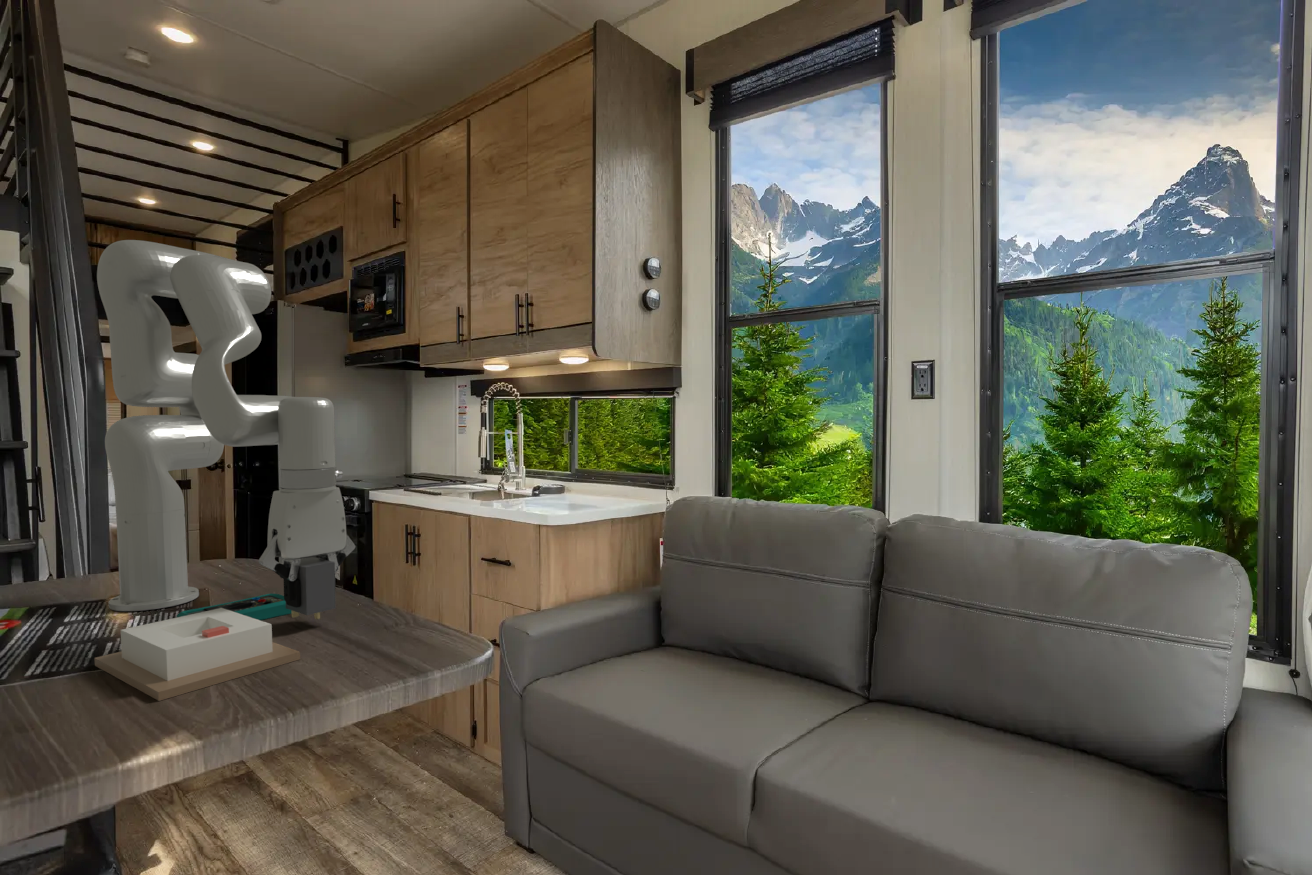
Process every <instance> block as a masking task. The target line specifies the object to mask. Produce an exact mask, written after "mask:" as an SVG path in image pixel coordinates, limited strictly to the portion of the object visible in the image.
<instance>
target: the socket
mask: <svg viewBox="0 0 1312 875" xmlns="http://www.w3.org/2000/svg"><path fill="white" fill-rule="evenodd" d="M272 628H273V626H272V623H269V622H266V621H264V620H261V621H260V620H257V619H254V618H251V617H248V616H245V615H242V614H239V613H236V612H233V611H230V610H227V609H224V608H219V609H214V610H210V611H205V612H200V613H196V614H191V615H187V616H182V617H177V616H176V617H174V618H169V619H165V620H159V621H155V622H150V623H146V624H141V625H137V626H132V627H128V628H123V629H120V647H121V648H120V649H121V651H118V652H114V653H109V654H105V655H100V656H97V657H94V666H95V667H96V668H98V669H100V670H102V671H104V672H105V673H107V674H110V676H113V677H115V678H116V679H119V680H120V681H122V682H124V683H126V684H127V685H129V686H131V687H132V688H134V689H137V690H138V691H140V692H142V693H143V694H145V695H148V697H151V698H153V699H155V700H156V701H158V702H160V701H163V700H167V699H171V698H173V697H177V696H180V695H184V694H187V693H190V692H194V691H197V690H201V689H204V688H208V687H211V686H215V685H217V684H218V685H219V684H221V683H225V682H228V681H232V680H234V679H238V678H242V677H245V676H249V675H251V674H252V675H253V674H254V673H258V672H261V671H265V670H266V671H267V670H268V669H272V668H276V667H278V666H282V665H286V664H290V663H292V662H295V661H296V662H297V661H299V660H301V652H300V651H299V650H297V649H293V648H290V647H288V646H285V645H282V644H279V643H277V642H274V641H273V631H272V630H273V629H272Z"/></svg>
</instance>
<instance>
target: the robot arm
mask: <svg viewBox="0 0 1312 875" xmlns="http://www.w3.org/2000/svg"><path fill="white" fill-rule="evenodd" d="M96 281H97V282H96V283H97V287H98V291H99V293H98V294H99V296H100V299H101V302H102V305H103V308H104V311H105V314H106V318H107V321H108V322H107V323H108V328H109V344H110V348H109V349H110V359H111V360H110V361H111V375H112V376H111V377H112V384H113V390H114V394H115V396H116V397H117V399H118V401H120V402H121V403H122V404H124V405H127V406H131V407H136V408H137V407H139V408H178V409H179V413H180V414H171V415H170V414H152V415H151V414H147V415H146V414H145V415H133V416H128V417H125V418H121V419H119V420H117V421H115V422H114V423H112V425H110V426H109V428H108V429H107V431H106V432H105V437H104V449H105V453H106V457H107V459H108V463H109V467H110V471H111V475H112V476H111V477H112V481H113V489H114V502H115V514H116V515H115V516H116V519H115V520H116V538H117V539H116V540H117V557H118V558H117V559H118V563H117V564H118V578H119V579H118V580H119V595H117V596H114V597H112V598H110V600H109V601H108V608H109V609H110V610H111V611H116V612H139V611H149V610H151V611H152V610H157V609H164V608H170V607H175V606H179V605H182V604H185V603H188V602H191V601H193V600H196V599H197V598H198V597H199V596H200V592H199V588H197V587H195V586H189V584H188V583H189V581H188V579H189V578H188V560H187V558H188V557H187V538H186V537H187V535H186V534H187V532H186V531H187V530H186V512H185V499H184V498H185V497H184V494H183V491H182V489H181V487H180V486H179V484H178V483H177V481H175V479H174V478H173V477H172V476H171V474H170V472H171V471H179V470H188V469H189V470H191V469H199V468H205V467H210V466H212V465H214V464H216V463H217V462H218V461H219V460H220V459H221V457H222V455H223V452H224V449H225V448H224V447H225V446H228V447H234V448H235V447H238V448H239V447H253V446H255V447H256V446H257V447H258V446H275V445H278V462H279V463H278V473H279V478H278V479H279V481H278V482H279V490H274V491H273V492H272V498H271V501H270V502H271V503H270V506H269V507H270V508H269V513H268V525H267V546H266V548H265V549H264V551H263V553H262V554H261V555H260V557H259V559H258V564H260V565H261V566H263V567H265V568H267V569H269V570H272V572H274V573H275V574H277V575H278V576H279V577H280V579H283V596H284V600H285V601H286V604H287V605H289V606H293V607H296V608H297V607H300V606H301V582H300V580H298V579H297V575H298V570H299V565H300V560H301V559H304V558H310V557H318V558H320V559H324V560H328V561H332V562H335V574H336V573H337V572H339V570H340V566H341V565H342V564H343V562H344V561H345V560H346V558H347V557H348V556H349V555H350V554H352V552H353V551H354V550H355V549H356V545H355V543H354V542H353V541H352V539H351V538H350V536H349V535H348V533H347V524H346V513H345V508H344V501H343V498H342V496H343V495H342V492H341V489H340V487H337V486H336V485H337V480H338V479H343V476H344V474H343V471H342V470H341V469H337V467H336V441H335V439H336V435H335V430H336V429H335V406H334V403H333V402H332V400H330V399H329V398H326V397H320V396H319V397H317V396H290V395H266V394H237V393H236V391H235V390H234V387H233V386H232V383H231V382H230V379H229V377H228V375H227V371H226V365H228V364H230V363H233V362H236V361H238V360H241V359H242V358H244V357H247V356H248V355H250V354H251V353H252V352H254V351H255V350H256V349H257V348H258V347H259V345H260V343H261V341H262V332H261V330H260V328H259V326H258V324H257V322H256V319H255V318H254V316H253V315H256V314H260V313H262V312H264V311H265V309H267V308H268V306H270V302H271V298H272V287H271V283H270V281H269V279H268V277H267V275H266V274H265V273H264V271H263V270H261V269H260V268H259V267H258V266H256V265H255V264H253V263H249V262H243V261H239V260H235V259H232V258H227V257H224V256H221V255H217V254H213V253H208V252H204V251H201V250H200V251H199V250H193V249H190V248H185V247H184V248H183V247H179V246H174V245H170V244H169V245H168V244H164V243H160V242H159V243H158V242H154V241H147V240H138V239H137V240H136V239H124V240H117V241H115V242H113V243H111V244H109V245H108V246H106V248H105V249H104V250H103V252H101V255H100V257H99V259H98V264H97V270H96ZM153 296H158V297H159V296H160V297H166V298H171V299H178V301H179V304H180V305H181V306H180V307H181V308H182V309H183V312H184V314H185V316H186V318H187V320H188V322H189V324H190V327H191V328H192V331H193V332H194V336H195V337H196V339H197V341H198V343H199V346H200V347H201V352H200V353H199V354H196V353H186V352H175V351H174V348H173V341H172V327H171V323H170V321H169V319H168V318H167V315H166V314H165V312H164V311H163V310H162V308H161V307H160V305H158V304H157V303H156V302H155V301H154V299H153V298H152V297H153ZM276 558H282V560H281V562H278V561H277V560H276ZM335 590H336V587H335Z"/></svg>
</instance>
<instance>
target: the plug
mask: <svg viewBox="0 0 1312 875" xmlns="http://www.w3.org/2000/svg"><path fill="white" fill-rule="evenodd" d="M297 579H298V580H300V582H301V606H300V607H297V608H296V607H293V606H289V605H287V604H286V609H289V610H292V614H291V618H294V619H295V618H297V617H300V614H301V615H303V616H309V615H313V617H314V619H316V620H320V619H321V612H327V611H331V610H334V609H337V608H336V589H335V588H336V573H335V562H332V561H328V560H324V559H320V558H319V557H317V556H315V557H309V558H304V559H301V560H300V565H299V570H298V575H297Z"/></svg>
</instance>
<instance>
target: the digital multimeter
mask: <svg viewBox="0 0 1312 875" xmlns="http://www.w3.org/2000/svg"><path fill="white" fill-rule="evenodd" d="M219 608H224V609H227V610H230V611H233V612H236V613H239V614H242V615H245V616H248V617H251V618H254V619H257V620H260V621H266V620H268V619H269V620H270V619H272V618H278V617H282V616H287V615H292V610H289V609H286V601H285V600H284V594H283V595H282V594H281V593H280V594H279V593H266V594H261V595H258V596H253V597H248V598H243V599H239V600H233V601H228V602H223V603H219V604H215V605H209V606H204V607H198V608H192V609H187V610H184V611H180V612H179V613H178V614H176V618H177V617H182V616H187V615H191V614H196V613H200V612H205V611H210V610H214V609H219Z"/></svg>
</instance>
